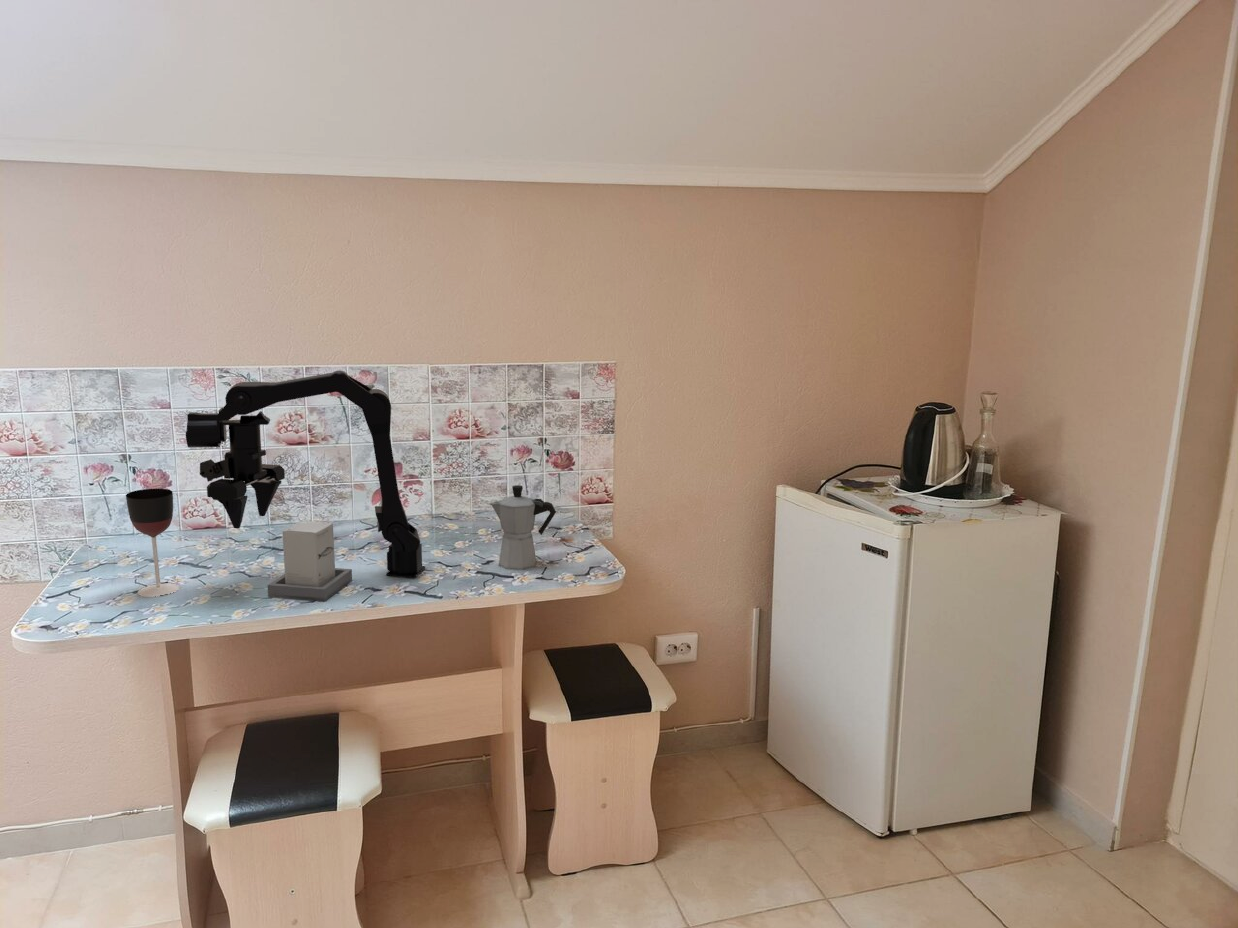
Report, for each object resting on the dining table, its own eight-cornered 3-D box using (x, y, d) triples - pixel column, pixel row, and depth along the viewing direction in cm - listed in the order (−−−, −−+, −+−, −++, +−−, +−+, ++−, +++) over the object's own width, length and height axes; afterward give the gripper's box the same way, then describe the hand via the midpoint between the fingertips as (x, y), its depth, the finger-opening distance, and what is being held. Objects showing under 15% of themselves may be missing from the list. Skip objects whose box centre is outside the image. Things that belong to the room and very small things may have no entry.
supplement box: (318, 593, 172) (315, 532, 169) (284, 590, 173) (280, 529, 170) (337, 580, 179) (334, 522, 176) (304, 577, 180) (300, 519, 178)
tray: (352, 580, 181) (351, 569, 181) (325, 601, 169) (324, 589, 169) (298, 576, 183) (298, 565, 182) (268, 596, 171) (267, 584, 171)
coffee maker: (485, 569, 190) (485, 489, 186) (492, 556, 199) (492, 480, 195) (553, 571, 190) (553, 491, 186) (557, 558, 198) (558, 482, 194)
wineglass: (169, 579, 179) (160, 486, 175) (188, 590, 174) (180, 493, 169) (128, 589, 173) (118, 493, 169) (147, 600, 168) (137, 501, 163)
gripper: (234, 435, 182) (238, 507, 185) (178, 452, 164) (184, 531, 167) (284, 439, 180) (287, 511, 183) (233, 456, 162) (237, 536, 165)
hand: (249, 521), depth 175 cm, fingers open, 9 cm apart
